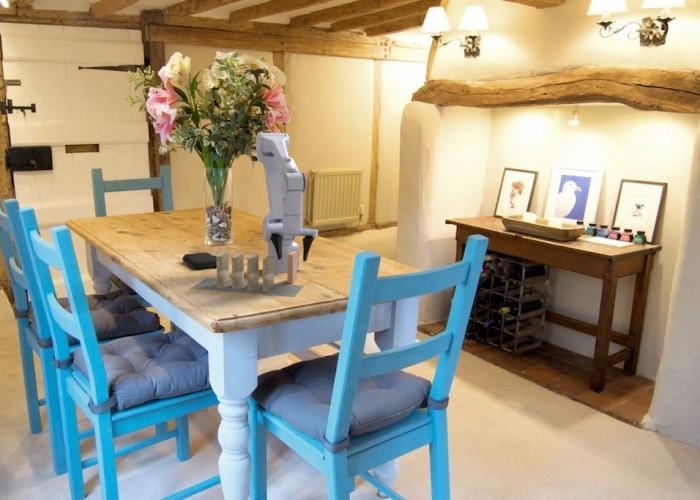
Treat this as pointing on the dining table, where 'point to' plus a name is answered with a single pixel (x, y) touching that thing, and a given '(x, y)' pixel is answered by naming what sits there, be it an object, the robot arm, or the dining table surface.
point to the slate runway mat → (276, 290)
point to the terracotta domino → (292, 267)
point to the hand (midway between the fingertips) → (292, 259)
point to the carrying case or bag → (200, 260)
